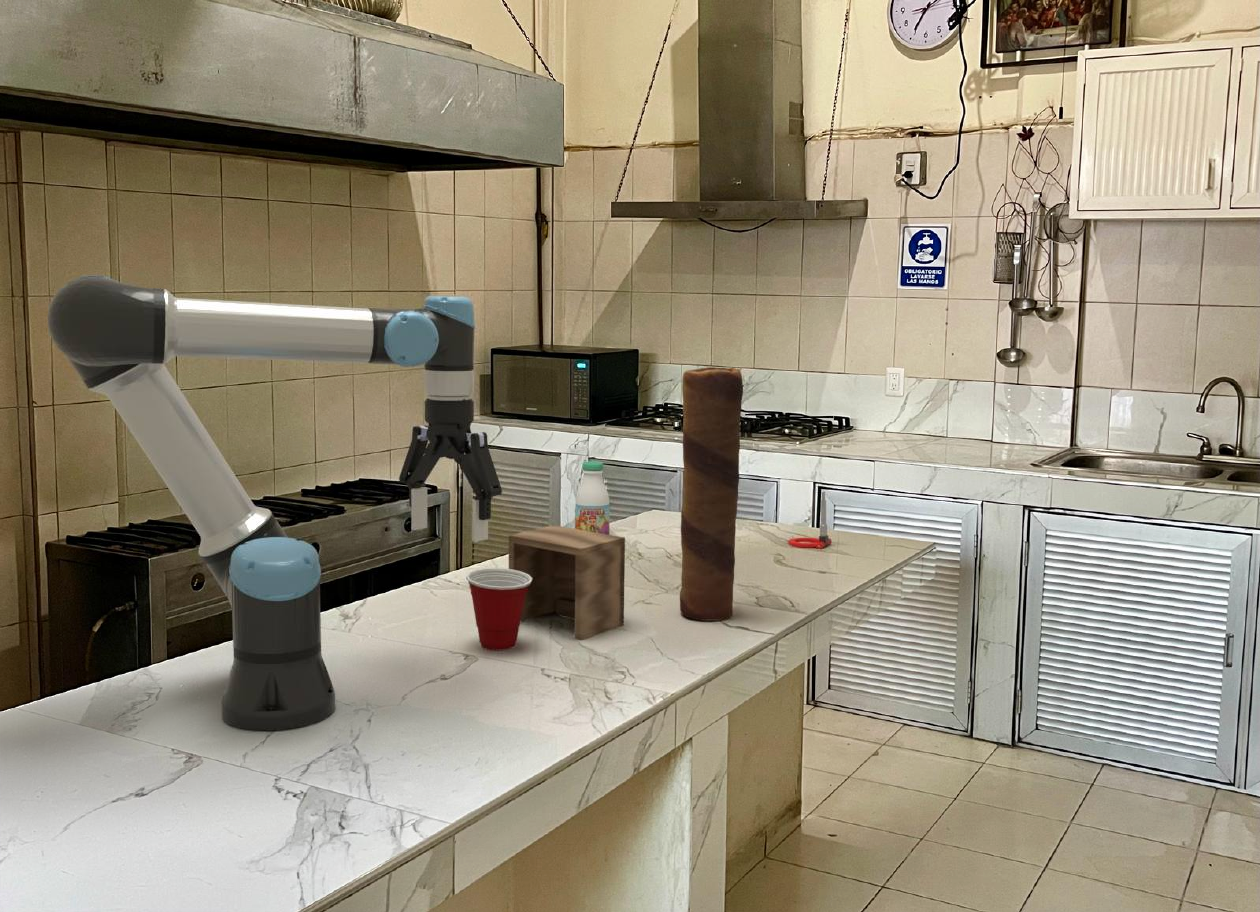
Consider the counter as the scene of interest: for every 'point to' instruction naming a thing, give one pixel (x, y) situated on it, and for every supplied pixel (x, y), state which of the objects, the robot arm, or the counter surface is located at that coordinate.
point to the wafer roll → (709, 490)
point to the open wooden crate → (572, 576)
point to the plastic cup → (498, 605)
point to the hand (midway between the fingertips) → (449, 534)
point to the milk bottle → (592, 500)
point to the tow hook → (823, 537)
